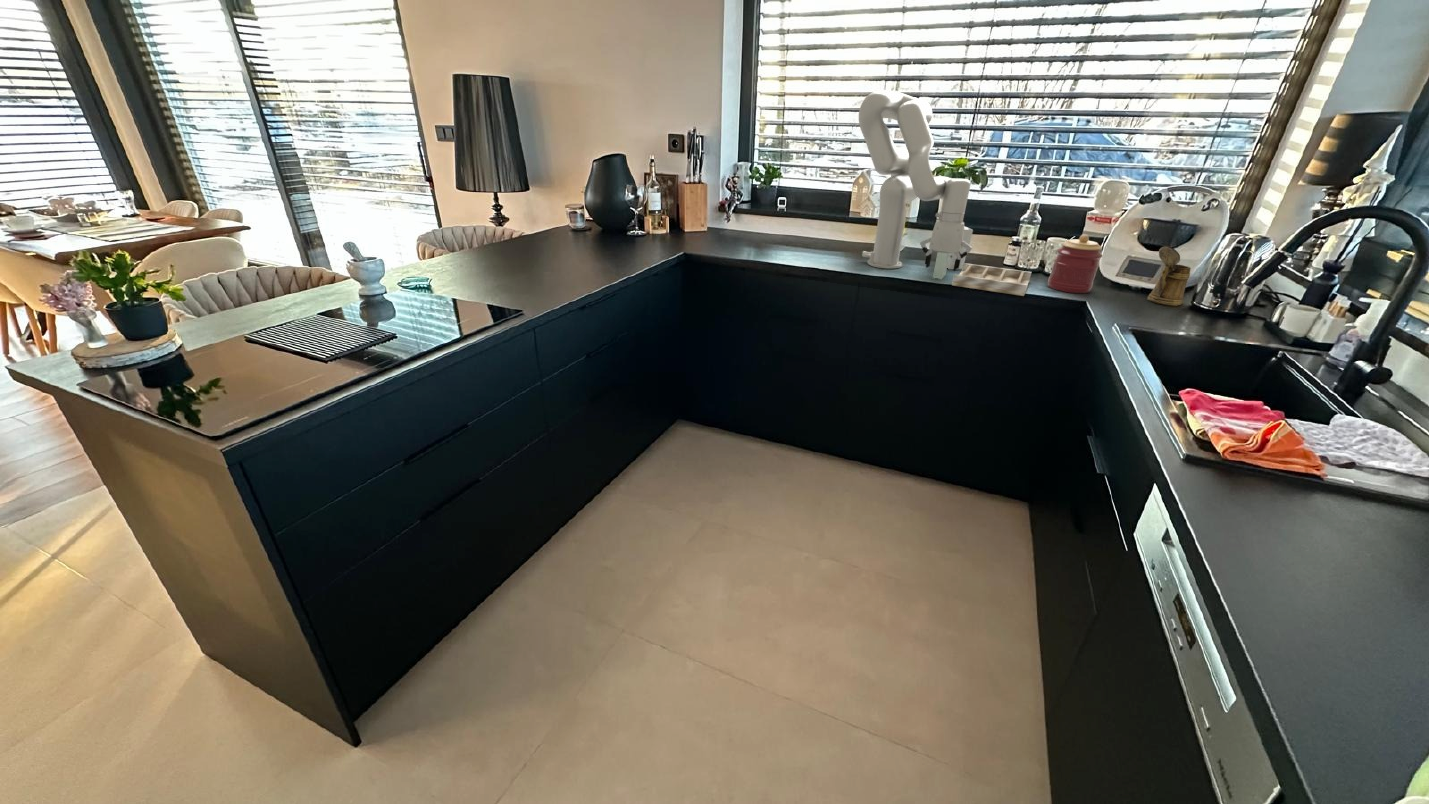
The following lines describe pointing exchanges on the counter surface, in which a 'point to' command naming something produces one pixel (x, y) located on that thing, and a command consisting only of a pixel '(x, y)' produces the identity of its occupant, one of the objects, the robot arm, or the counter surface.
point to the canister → (1075, 265)
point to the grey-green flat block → (941, 264)
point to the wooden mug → (1170, 279)
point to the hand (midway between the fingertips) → (941, 268)
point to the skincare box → (953, 257)
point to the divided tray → (992, 279)
